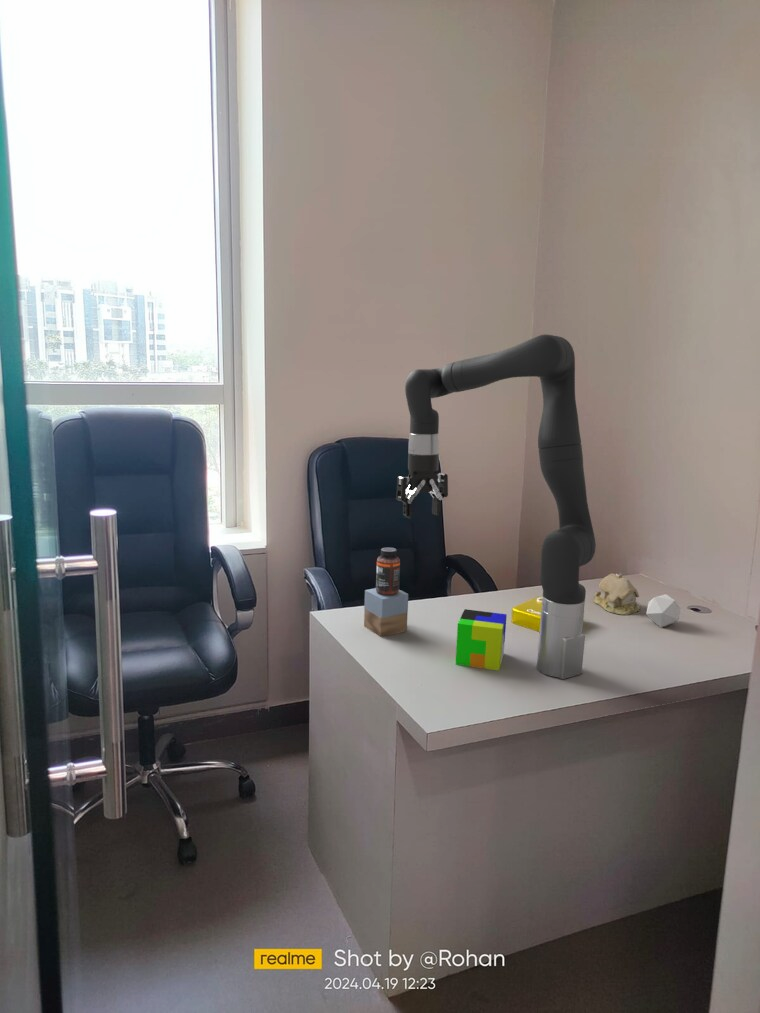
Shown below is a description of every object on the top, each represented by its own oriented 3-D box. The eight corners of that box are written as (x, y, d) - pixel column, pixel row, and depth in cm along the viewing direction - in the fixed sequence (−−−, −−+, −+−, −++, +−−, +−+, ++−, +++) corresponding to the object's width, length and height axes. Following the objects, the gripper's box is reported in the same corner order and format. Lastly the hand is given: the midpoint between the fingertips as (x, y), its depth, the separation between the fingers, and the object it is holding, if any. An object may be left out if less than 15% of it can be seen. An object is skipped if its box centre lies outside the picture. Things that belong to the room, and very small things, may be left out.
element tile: (508, 623, 194) (509, 606, 193) (536, 609, 205) (537, 593, 204) (558, 639, 184) (560, 621, 183) (585, 624, 195) (587, 607, 194)
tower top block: (407, 612, 185) (408, 594, 184) (381, 618, 180) (382, 599, 179) (389, 603, 191) (390, 585, 190) (364, 608, 187) (364, 590, 186)
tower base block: (406, 631, 185) (407, 613, 184) (380, 637, 181) (380, 618, 180) (389, 621, 192) (390, 603, 191) (364, 626, 188) (364, 608, 187)
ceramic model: (647, 612, 205) (651, 578, 203) (617, 617, 201) (621, 582, 199) (612, 596, 218) (615, 564, 216) (583, 601, 213) (586, 568, 211)
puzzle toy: (503, 653, 173) (506, 614, 171) (499, 670, 164) (501, 629, 162) (462, 648, 176) (464, 609, 174) (455, 664, 167) (457, 623, 164)
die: (684, 632, 192) (689, 599, 196) (663, 620, 188) (669, 586, 192) (657, 633, 199) (663, 601, 202) (637, 622, 195) (643, 589, 199)
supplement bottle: (400, 589, 187) (402, 547, 184) (396, 596, 181) (399, 553, 179) (377, 587, 188) (379, 545, 186) (373, 594, 182) (375, 551, 180)
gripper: (408, 455, 171) (407, 521, 174) (455, 451, 179) (453, 516, 182) (391, 451, 177) (389, 516, 181) (437, 448, 185) (435, 510, 188)
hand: (421, 516), depth 181 cm, fingers open, 8 cm apart
